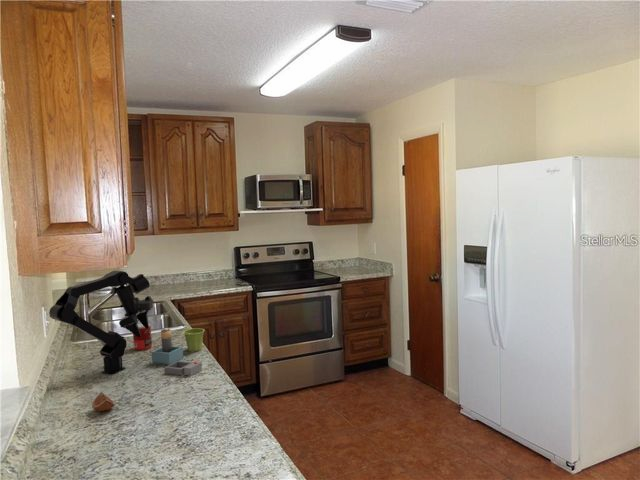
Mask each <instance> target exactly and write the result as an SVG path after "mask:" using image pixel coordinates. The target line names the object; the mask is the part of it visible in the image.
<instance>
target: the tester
mask: <svg viewBox="0 0 640 480" xmlns="http://www.w3.org/2000/svg"><path fill="white" fill-rule="evenodd" d="M202 363H203V362H201V361H197V360H196V361H193V362H192V361H185V360H184V361H182V360H179V361H176V362H174V363H172V364H170V365H165V367H163V370H164V374H165V375H172V374H173V375H174V376H181V375H182V376H186V375H188V376H187V377H192V376H194V375H196V374H197V373H199V372H201V371H202V370H203V364H202ZM201 369H202V370H201ZM200 370H201V371H200ZM198 371H199V372H198ZM196 372H197V373H196ZM195 373H196V374H195ZM183 374H184V375H183ZM193 374H194V375H193Z"/></svg>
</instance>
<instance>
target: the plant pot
mask: <svg viewBox="0 0 640 480" xmlns="http://www.w3.org/2000/svg"><path fill="white" fill-rule="evenodd" d="M205 331H206V330H205V329H204V328H188V329H186V330H184V331H183V332H182V333H183V335H184V338H185V341H186V346H187V347H186V348H187V351H189V352H190V353H191V352H193V353H196V352H197V351H199V350H200V351H201V350H203V337H204V332H205Z"/></svg>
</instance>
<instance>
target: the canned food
mask: <svg viewBox="0 0 640 480" xmlns="http://www.w3.org/2000/svg"><path fill="white" fill-rule="evenodd" d="M148 324H149V328H148V329H146V328H145V327H144V326H143V325H142V323H141V322H140V323H138V324H137V325H138V328H139V331H140V334H141V337H137V336H136V335H135V334H133V333H132V336H133V337H132V338H133V348H134V350H135V351H139V352H141V351H142V350H143V351H147V350H150V349H152V347H153V341H152V340H153V339H152V327H151V326H152V325H151V323H149V322H148Z"/></svg>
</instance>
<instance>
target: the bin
mask: <svg viewBox="0 0 640 480" xmlns="http://www.w3.org/2000/svg"><path fill="white" fill-rule="evenodd" d="M183 348H184V347H183V346H175V345H172V351H171V352H169V353H165V352H162V346H161V347H160V348H157V349H155V350H153V351H151V363H153V364H154V365H155V364H156V365H162V364H163V365H164V366H168V365H170V364H172V363H174V362H176V361H182V360H183V359H184V349H183ZM153 364H152V365H153ZM163 365H162V366H163Z"/></svg>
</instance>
